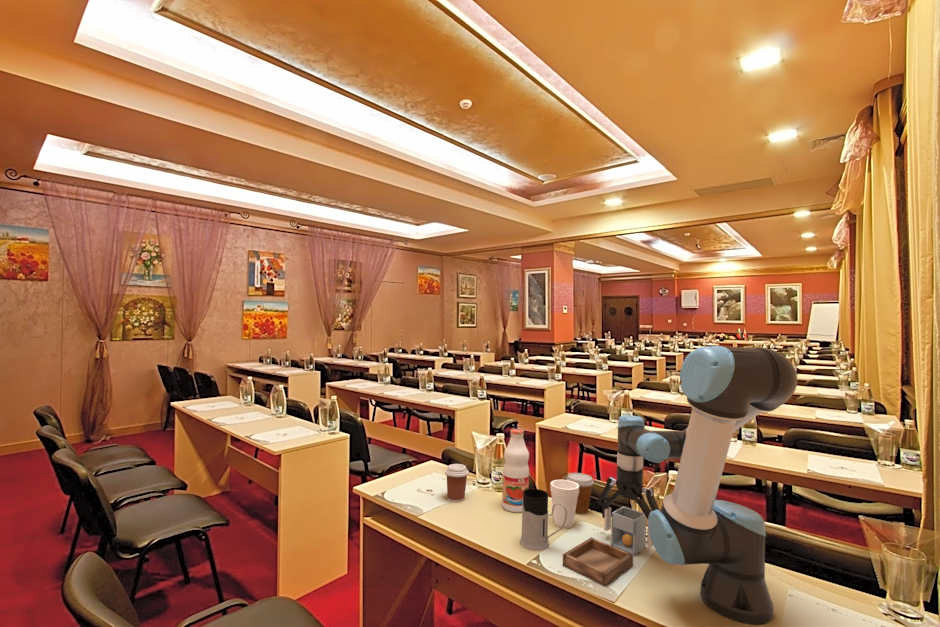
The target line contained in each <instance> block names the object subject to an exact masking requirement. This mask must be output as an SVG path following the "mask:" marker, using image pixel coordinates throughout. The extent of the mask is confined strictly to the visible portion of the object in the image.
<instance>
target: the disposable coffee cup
mask: <svg viewBox="0 0 940 627" xmlns="http://www.w3.org/2000/svg"><path fill="white" fill-rule="evenodd" d="M566 480H569V481H573V482H575V483H577V484H578V485H579V495H578V498H577V505H576V511H575V514H579V515H581V514H583V515H584V514H587V513H589V510H590V509H589V507H590V502H591V495H592V489H593V485H594V482H595V481H594V480H593V477H592V476H591V475H589V474H587V473H581V472H571V473H569V474H567V477H566Z"/></svg>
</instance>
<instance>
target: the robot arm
mask: <svg viewBox="0 0 940 627" xmlns="http://www.w3.org/2000/svg"><path fill="white" fill-rule="evenodd" d="M679 371H680V373H679V380H680V381H681V383H680V388H681V391H682V392H683V394H684V396H686V402H687V404H688V405H689V406H690V407H691V414H690V417H689V422H688V426H687V427H686V428H685V429H684V430H683V429H682V430H649V429H647V428H645V427H646V425H645V420H644V418H643V417H642V416H638V415H632V414H623V415H620V416H619V417H618V423H617V426H616V427H617V451H616V452H617V456H616V465H617V466H616V479H615V477H614V476H610V477H608V478H607V479H606V482H605V486H604V488H603V489H602V490H601V491H602V492H601V493H600V494H599V496H598V498H597V500H596V504H597V505H598V506H600V507H601V508H602V509H601V510H602V513H601V518H602V519H604V526H603V527H604V528H603V531H605V532H607V531H609V530H611V522H612V508H611V507H610V505H612V504H613V503H614V502H615V501H616V500H617V499H618V498H620V497H621V496H622V498H625V499H628V500H631V501H634V502H635V503H636V504H637V505H638V507H639V508H640V510H641V512H642V513H644V514H645V516H646V520H647V531H646V537H647V539H646V540H647V541H646V547H647V548H648V549H650V548H652V547H654V549H655V552H656V553H657V555H658V556H659V557H660V559H661V560H662V561H664V562H665V563H667V564H669V565H680V566H686V565H687V566H690V565H707V564H708V565H707V567H706V570H705V572H704V574H703V577H702V580H701V582H700V591H699V592H700V597H701V599H702V601H703V602H704V603H705V604H706V605H707V606H708V607H709V608H710V609H712V610H713V611H715V612H716V613H718V614H720V615H722V616H724V617H726V618H728V619H732V620H734V621H737V622H741V623H745V624H751V625H752V624H753V625H763V624H767V623H769V622H771V621H772V620H773V618H774V603H773V601H772V598H771V595H770V592H769V588H768V584H767V581H766V579H765V578H766V576H765V575H766V574H765V572H766V571H765V570H766V537H767V534H766V525H765V524H766V522H765V519H764V518H763V516H762V515H761V514H759V512H756V511H755V510H753V509H751V508H749V507H747V506H744V505H741V504H738V503H737V502H736V503H735V502H731V501H728V500H724V499H723V500H722V499H720V500H719V499H717V494H718V490H719V487H720V483H721V481H722V480H721V478H722V475H723V472H724V468H725V464H726V461H727V457H728V454H729V449H730V446H731V441H732V437H733V435H734V432H735V431H737V430H739V429H740V428H741V427H744V425H746V424H747V423H749V422H750V421H751V420H753V419H754V418H756V417H757V416H759V415H760V414H761V413H764V412H765V413H766V412H767V413H768V412H769V413H770V412H773V411H775V410H776V409H779V407H781V406H782V405H784V404H785V403H786V402H788V401H789V400H790V399H791V398H792V396H793V395H794V393H795V392H796V389H797V385H798V374H797V370H796V368H795V367H794V365H793V363H792V362H791V361H790V359H788V358H787V357H786V356H785V355H784V354H782V353H780V352H779V351H777V350H774V349H771V348H766V347H743V346H742V347H741V346H722V345H712V346H701V347H698V348H697V347H696V349H694V350H692V351H690V352H689V353H688V354H687V355H686V357H685V358H684V360H683V362H682V365H681V367H680V370H679ZM667 459H680V461H679V464H678V469H677V474H676V478H675V481H674V487H673V489H672V493H670V494H668V495H666V496H665V497H664V499H663V503H662V506H661V509H660V508H659V506H658V503H657V499H656V498H655V492H654V488H652V487H650V488H645V487H644V486H643V482H644V469H643V468H644V460H647V461H650V462H652V463H655V464H656V463H657V464H658V463H662V462H664V461H665V460H667ZM613 486H616V488H617V490H615V492H614V493H613V494H612V495H611V496H610V497H609V498H608V499H607V500H606V498H607V497H608V496H609V494H610V492H611V490H612V488H613ZM643 494H644V496H645V497H646V500H647V502H646V500H645V497H644V496H643ZM605 500H606V501H605Z"/></svg>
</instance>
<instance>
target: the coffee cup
mask: <svg viewBox="0 0 940 627" xmlns="http://www.w3.org/2000/svg"><path fill="white" fill-rule="evenodd" d="M444 474H445V475H446V491H447V493H446V494H447V500H448V501H449V502H453V503H459V502H464V500H465V496H466V488H467V487H466V486H467V481H468V480H467V479H468V475H469V474H470V471H469V470H468V469H467V466H466V465H465V464H462V463H452V464H449V465H448V466H447V468H446V469H445V470H444Z"/></svg>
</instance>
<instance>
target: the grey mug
mask: <svg viewBox="0 0 940 627" xmlns="http://www.w3.org/2000/svg"><path fill="white" fill-rule="evenodd" d="M557 504H559V505H561V506H563V508H564V509H565V520H564V523H563V525H562V526H561V527H559V528H558V529H557V530H555V531H554V532H552V533H550V534H549V532H548V530H549V517H551V516H553V510H554V507H555V505H557ZM548 509H549V493H548V492H547V491H546V490H542V489H540V488H529V489H527V490H525V491H524V492H523V503H522V512H521V513H522V514H521V538H520V539H519V544H520V545H521V547H523V548H525V549H527V550H530V551H543V550H546V549H548V548H549V546H550V544H549V538H550V537H552V536H553V535H556V534H557V533H558V532H560V531H561V530H562V529H564V528H563V526H564V524H565V522H566V518H567V510H566V508H565V506H564V505H563V504H561V503H556V504H554V505H553V506H552V507H551V514H550V513H549V510H548Z"/></svg>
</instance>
